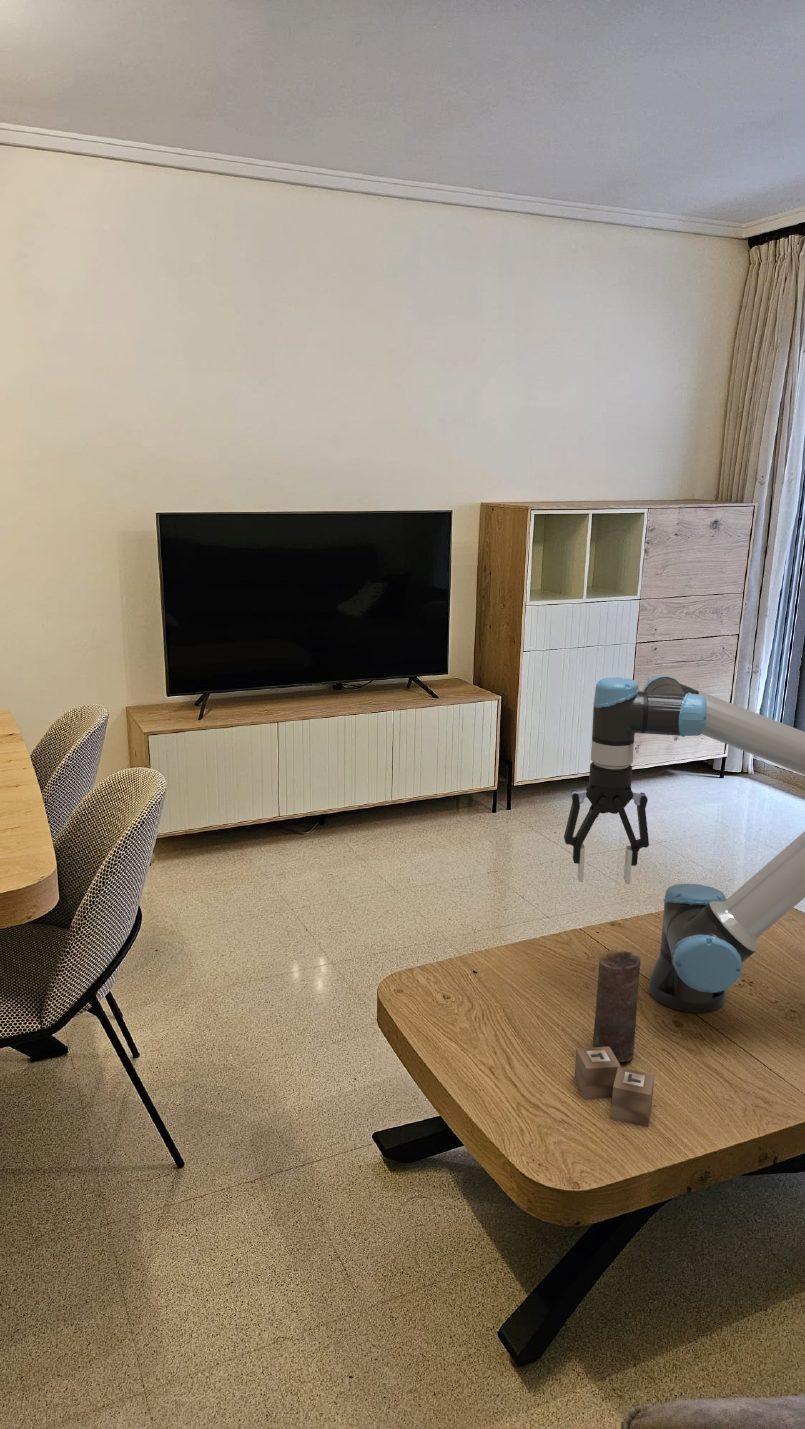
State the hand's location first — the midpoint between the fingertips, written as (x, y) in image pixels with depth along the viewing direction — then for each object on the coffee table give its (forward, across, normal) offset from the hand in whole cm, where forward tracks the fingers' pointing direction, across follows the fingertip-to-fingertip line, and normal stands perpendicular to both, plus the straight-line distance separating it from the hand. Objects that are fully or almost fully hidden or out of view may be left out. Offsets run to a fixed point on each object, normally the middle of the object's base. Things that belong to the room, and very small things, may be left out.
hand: (603, 879), depth 184 cm
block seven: (+29, -3, +28) cm, 41 cm away
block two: (+29, +2, +22) cm, 37 cm away
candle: (+29, -2, +12) cm, 32 cm away
